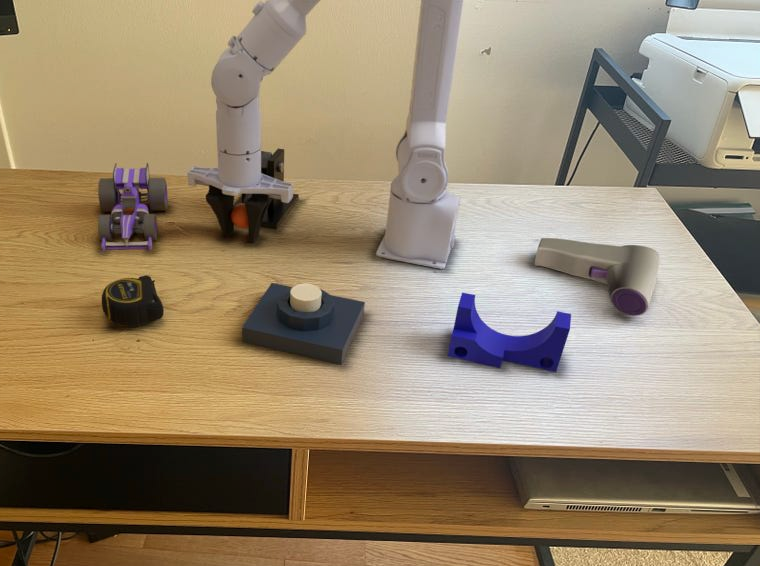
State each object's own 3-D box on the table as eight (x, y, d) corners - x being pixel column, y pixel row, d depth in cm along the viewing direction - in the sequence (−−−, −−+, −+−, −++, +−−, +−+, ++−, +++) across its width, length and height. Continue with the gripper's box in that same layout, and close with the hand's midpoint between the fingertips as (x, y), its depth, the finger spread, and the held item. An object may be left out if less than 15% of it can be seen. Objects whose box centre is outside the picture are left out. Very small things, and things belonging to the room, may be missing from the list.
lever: (252, 234, 104) (248, 220, 101) (230, 230, 105) (225, 216, 101) (278, 166, 108) (275, 150, 105) (256, 162, 109) (252, 147, 106)
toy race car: (91, 253, 101) (84, 210, 97) (105, 202, 112) (99, 161, 108) (162, 252, 101) (157, 209, 97) (168, 201, 113) (164, 161, 109)
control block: (363, 316, 91) (366, 289, 88) (341, 365, 83) (343, 337, 81) (271, 297, 93) (271, 270, 91) (242, 342, 86) (241, 314, 84)
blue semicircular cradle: (447, 356, 85) (455, 313, 81) (453, 334, 88) (462, 292, 84) (555, 380, 82) (569, 337, 78) (557, 356, 85) (571, 313, 81)
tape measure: (166, 327, 88) (163, 301, 86) (108, 336, 86) (103, 310, 84) (156, 296, 93) (153, 270, 91) (101, 304, 91) (96, 279, 89)
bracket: (276, 231, 106) (277, 171, 101) (225, 221, 108) (223, 161, 102) (298, 201, 114) (300, 143, 108) (250, 192, 116) (249, 135, 110)
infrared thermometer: (538, 257, 104) (654, 277, 99) (521, 301, 95) (647, 325, 90) (544, 227, 101) (663, 246, 96) (527, 270, 93) (657, 293, 87)
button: (324, 299, 87) (325, 286, 86) (315, 315, 84) (316, 303, 83) (295, 293, 88) (296, 280, 87) (285, 309, 85) (286, 296, 84)
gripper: (174, 149, 95) (182, 242, 103) (281, 167, 91) (279, 262, 100) (197, 129, 100) (202, 219, 109) (299, 146, 97) (296, 237, 105)
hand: (240, 238), depth 105 cm, fingers closed on lever, 3 cm apart
